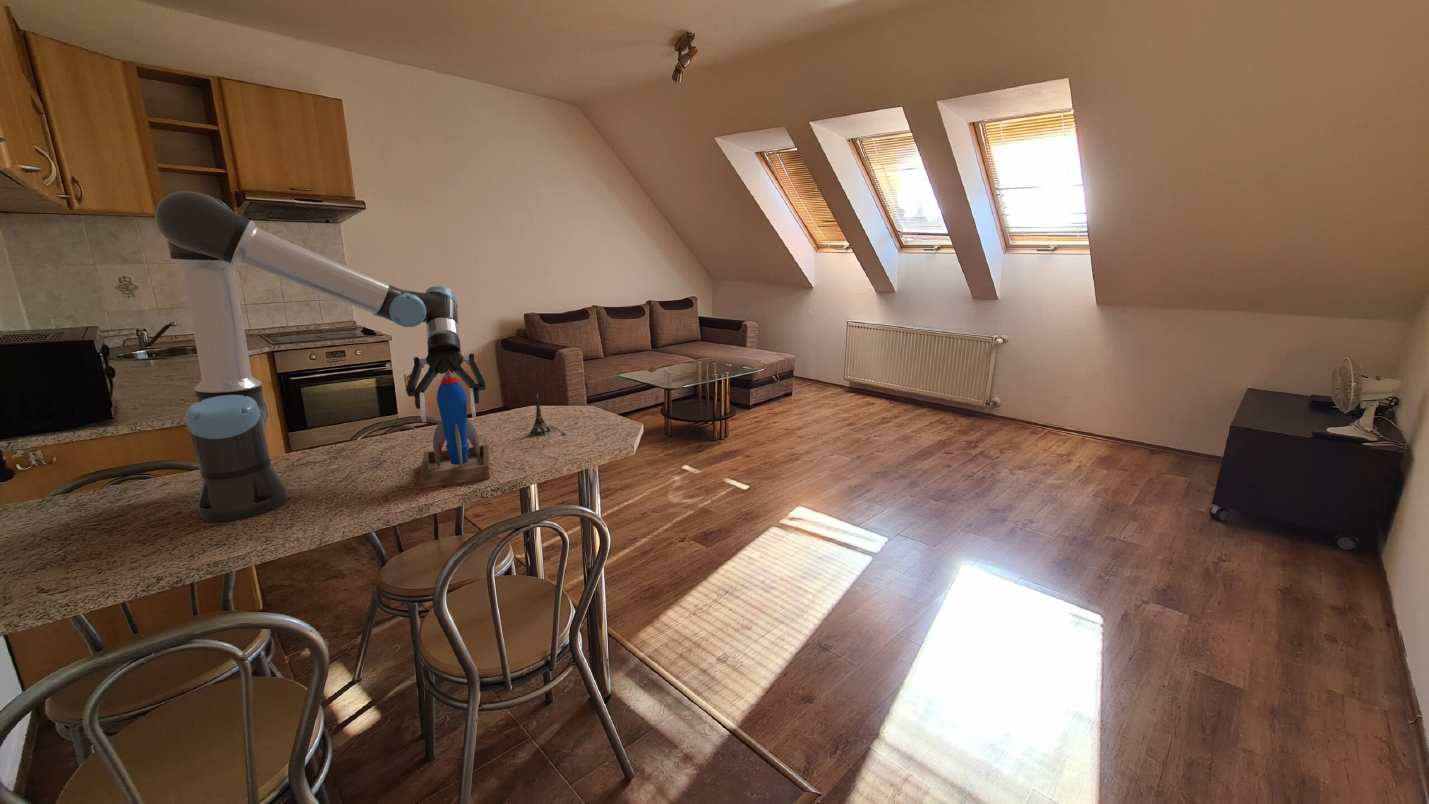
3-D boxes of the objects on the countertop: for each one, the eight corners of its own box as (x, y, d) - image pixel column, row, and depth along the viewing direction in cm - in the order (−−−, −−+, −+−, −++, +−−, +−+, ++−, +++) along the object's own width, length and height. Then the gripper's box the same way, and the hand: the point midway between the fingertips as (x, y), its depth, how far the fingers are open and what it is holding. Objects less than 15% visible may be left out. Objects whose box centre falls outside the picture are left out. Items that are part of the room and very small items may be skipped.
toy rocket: (464, 477, 138) (451, 375, 131) (424, 476, 139) (409, 374, 131) (482, 460, 149) (471, 365, 142) (445, 459, 149) (432, 364, 142)
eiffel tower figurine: (569, 437, 170) (565, 393, 166) (535, 444, 164) (531, 399, 160) (548, 424, 181) (544, 383, 177) (516, 431, 175) (511, 388, 171)
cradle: (420, 488, 134) (418, 475, 133) (426, 463, 148) (424, 451, 148) (489, 478, 139) (488, 465, 139) (488, 456, 154) (487, 444, 153)
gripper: (492, 346, 154) (500, 418, 144) (396, 352, 146) (398, 429, 136) (490, 329, 148) (499, 404, 138) (390, 334, 140) (391, 414, 130)
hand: (448, 416), depth 137 cm, fingers open, 10 cm apart
